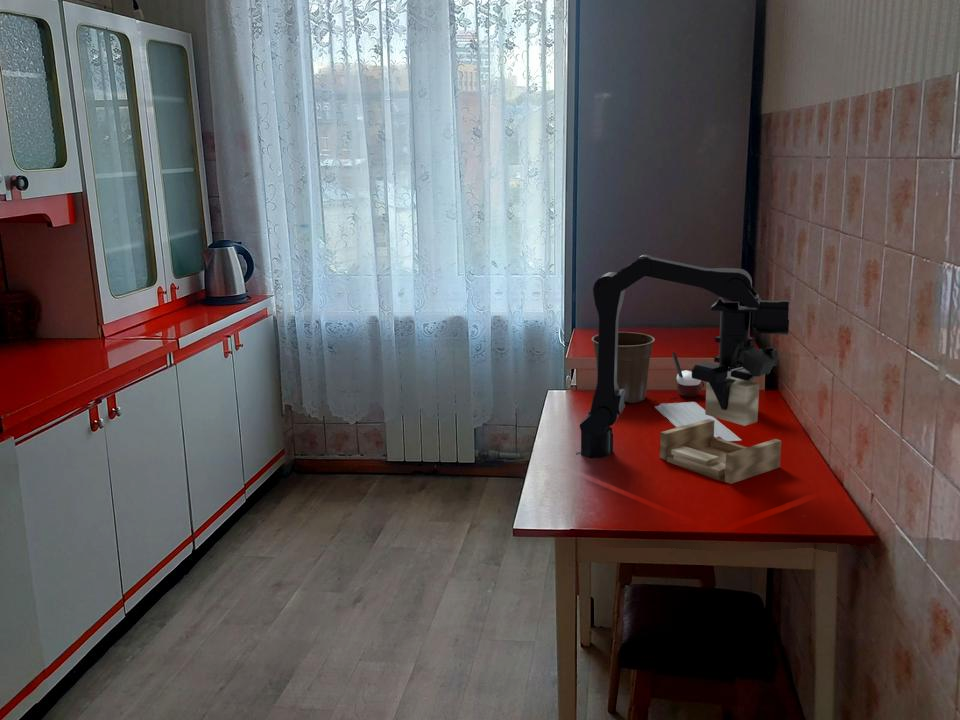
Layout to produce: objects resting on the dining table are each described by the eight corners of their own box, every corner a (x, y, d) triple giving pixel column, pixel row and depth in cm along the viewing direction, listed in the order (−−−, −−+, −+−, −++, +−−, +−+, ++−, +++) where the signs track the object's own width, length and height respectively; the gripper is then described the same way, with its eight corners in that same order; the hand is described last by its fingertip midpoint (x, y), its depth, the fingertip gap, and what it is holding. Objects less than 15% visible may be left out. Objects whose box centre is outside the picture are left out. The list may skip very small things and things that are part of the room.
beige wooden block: (744, 425, 183) (746, 386, 181) (705, 414, 191) (706, 377, 189) (757, 421, 186) (759, 383, 184) (718, 410, 193) (719, 373, 192)
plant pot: (638, 410, 232) (639, 347, 228) (580, 401, 241) (581, 341, 237) (662, 394, 246) (664, 335, 242) (607, 386, 254) (607, 329, 250)
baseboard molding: (689, 450, 204) (742, 447, 206) (690, 437, 204) (742, 434, 205) (648, 410, 234) (694, 407, 236) (649, 398, 234) (695, 396, 235)
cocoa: (702, 393, 247) (705, 349, 244) (706, 399, 241) (709, 354, 238) (666, 392, 247) (669, 348, 245) (669, 398, 241) (672, 353, 239)
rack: (730, 487, 180) (732, 456, 179) (659, 461, 196) (660, 432, 194) (779, 470, 189) (781, 440, 187) (708, 446, 204) (709, 418, 202)
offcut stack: (718, 480, 182) (718, 466, 181) (666, 461, 193) (666, 448, 192) (732, 476, 184) (733, 461, 183) (680, 457, 195) (680, 444, 195)
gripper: (736, 346, 172) (733, 426, 176) (797, 332, 183) (793, 407, 187) (690, 336, 181) (688, 412, 185) (751, 324, 192) (748, 396, 196)
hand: (731, 407), depth 188 cm, fingers closed on beige wooden block, 4 cm apart
